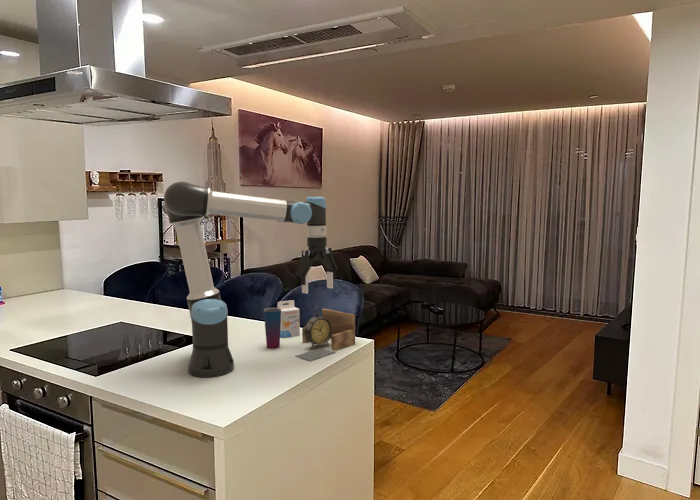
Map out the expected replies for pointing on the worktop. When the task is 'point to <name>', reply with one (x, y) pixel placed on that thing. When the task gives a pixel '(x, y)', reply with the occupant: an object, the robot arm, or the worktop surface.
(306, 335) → the alarm clock
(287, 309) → the ink box
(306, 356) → the slate pad
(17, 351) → the worktop surface
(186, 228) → the robot arm
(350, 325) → the wooden holder
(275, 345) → the cup
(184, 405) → the worktop surface
